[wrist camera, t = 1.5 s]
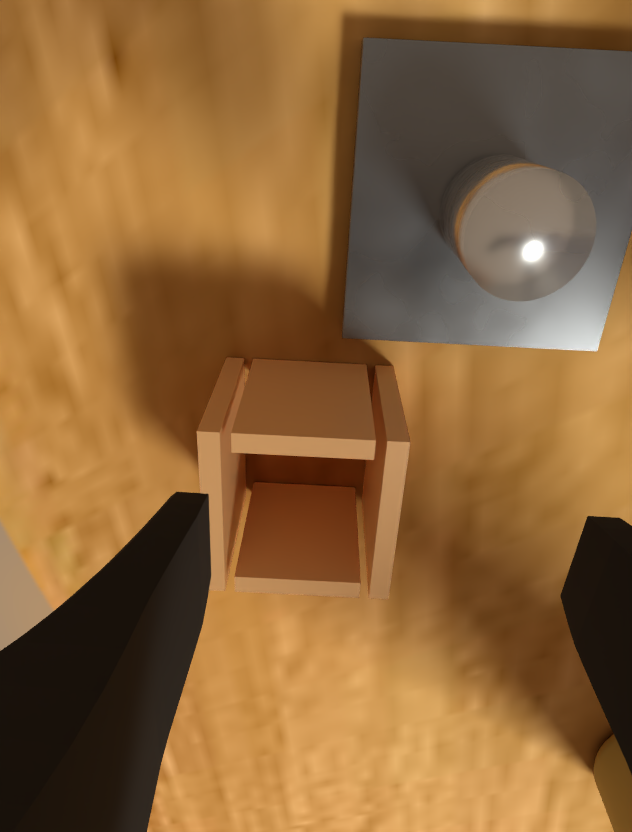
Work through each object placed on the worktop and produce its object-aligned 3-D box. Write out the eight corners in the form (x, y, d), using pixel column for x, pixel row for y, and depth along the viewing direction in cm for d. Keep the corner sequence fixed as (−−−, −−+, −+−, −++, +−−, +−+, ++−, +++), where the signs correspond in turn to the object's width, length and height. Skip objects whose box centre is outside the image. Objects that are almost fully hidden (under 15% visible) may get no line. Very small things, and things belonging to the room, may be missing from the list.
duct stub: (587, 341, 20) (649, 401, 16) (342, 329, 20) (344, 385, 16) (667, 55, 16) (772, 43, 12) (362, 40, 16) (371, 23, 12)
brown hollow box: (377, 501, 23) (388, 599, 18) (230, 493, 23) (205, 589, 18) (393, 365, 20) (410, 442, 16) (226, 357, 20) (196, 431, 16)
